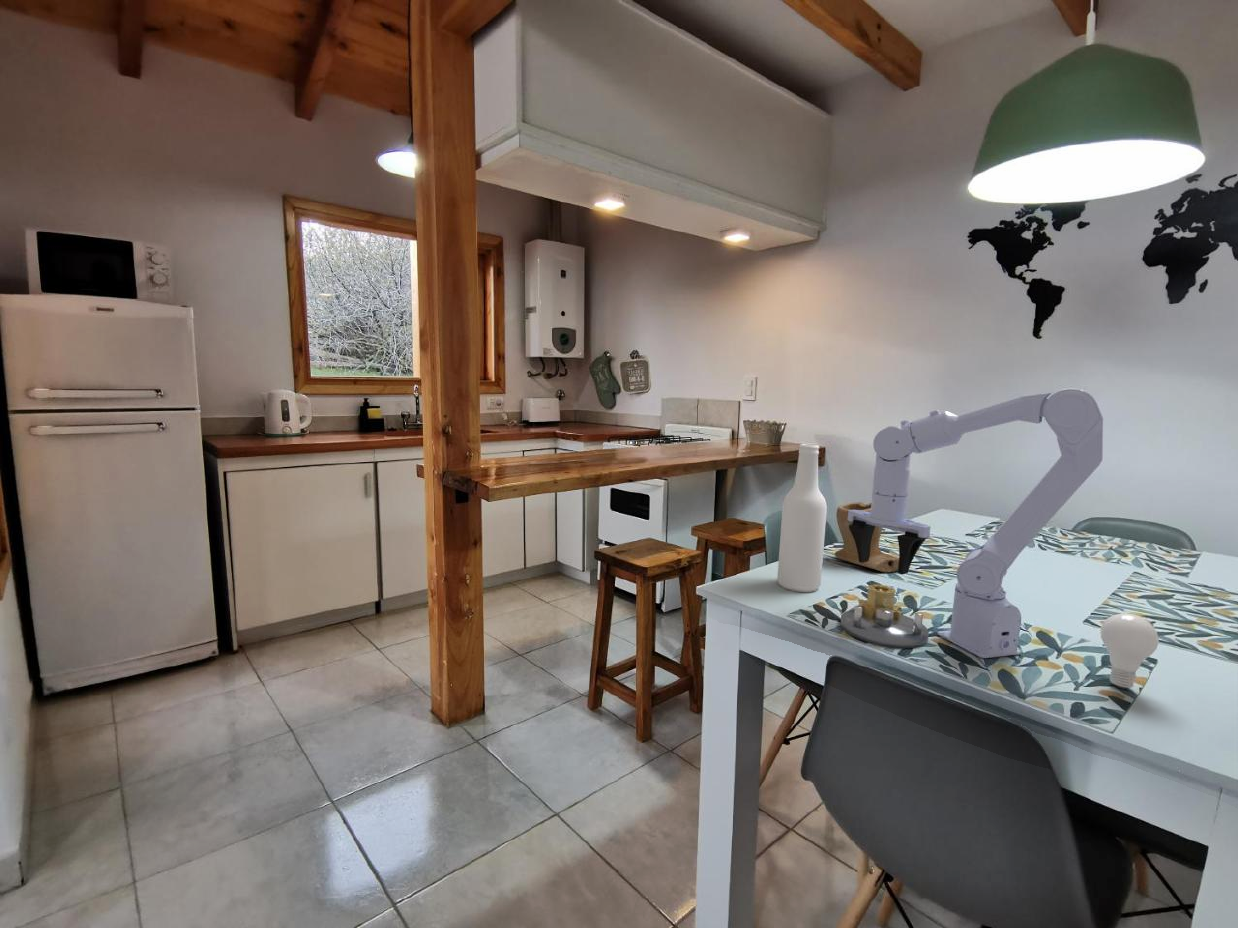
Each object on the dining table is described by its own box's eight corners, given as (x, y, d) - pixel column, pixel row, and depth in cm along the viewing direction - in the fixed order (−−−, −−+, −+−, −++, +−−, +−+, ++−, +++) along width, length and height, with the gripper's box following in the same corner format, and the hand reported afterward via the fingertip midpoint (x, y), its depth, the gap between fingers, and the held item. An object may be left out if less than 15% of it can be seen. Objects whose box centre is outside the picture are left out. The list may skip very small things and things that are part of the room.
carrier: (947, 643, 100) (950, 617, 99) (876, 651, 96) (879, 623, 96) (888, 612, 113) (891, 588, 113) (824, 617, 110) (826, 593, 109)
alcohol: (829, 589, 125) (841, 446, 121) (800, 595, 121) (811, 448, 116) (796, 576, 133) (807, 441, 128) (768, 582, 128) (777, 443, 124)
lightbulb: (1158, 702, 83) (1170, 627, 82) (1102, 692, 85) (1113, 619, 84) (1138, 681, 89) (1149, 611, 87) (1086, 672, 91) (1096, 603, 90)
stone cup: (821, 559, 147) (826, 499, 144) (855, 554, 152) (860, 496, 150) (873, 578, 133) (879, 512, 131) (908, 571, 139) (915, 508, 137)
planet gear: (909, 617, 108) (912, 593, 107) (878, 621, 106) (880, 597, 105) (880, 603, 115) (882, 580, 114) (849, 606, 112) (851, 583, 112)
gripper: (942, 498, 103) (934, 574, 105) (865, 485, 115) (859, 554, 117) (921, 502, 99) (912, 581, 101) (843, 488, 111) (837, 559, 113)
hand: (882, 567), depth 109 cm, fingers open, 7 cm apart
